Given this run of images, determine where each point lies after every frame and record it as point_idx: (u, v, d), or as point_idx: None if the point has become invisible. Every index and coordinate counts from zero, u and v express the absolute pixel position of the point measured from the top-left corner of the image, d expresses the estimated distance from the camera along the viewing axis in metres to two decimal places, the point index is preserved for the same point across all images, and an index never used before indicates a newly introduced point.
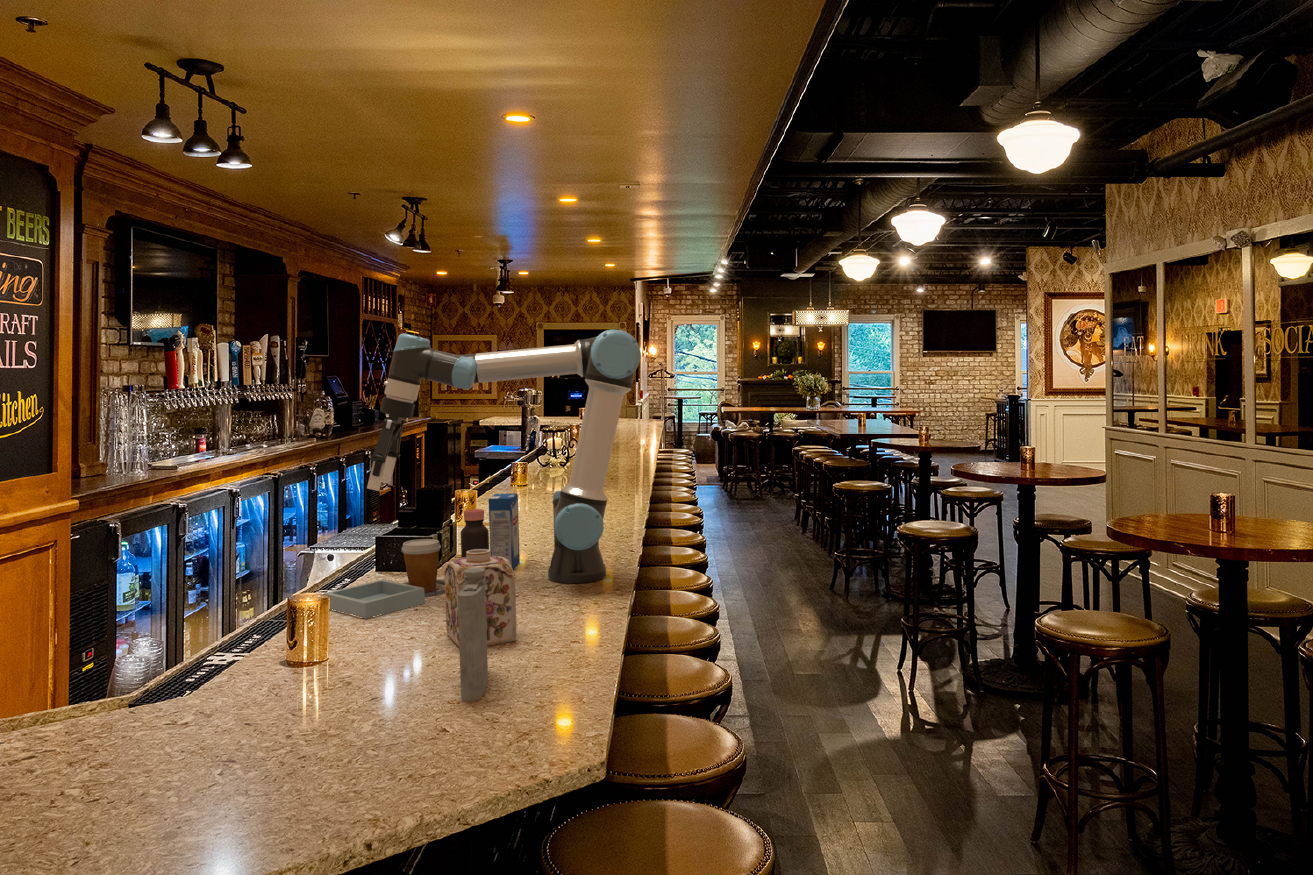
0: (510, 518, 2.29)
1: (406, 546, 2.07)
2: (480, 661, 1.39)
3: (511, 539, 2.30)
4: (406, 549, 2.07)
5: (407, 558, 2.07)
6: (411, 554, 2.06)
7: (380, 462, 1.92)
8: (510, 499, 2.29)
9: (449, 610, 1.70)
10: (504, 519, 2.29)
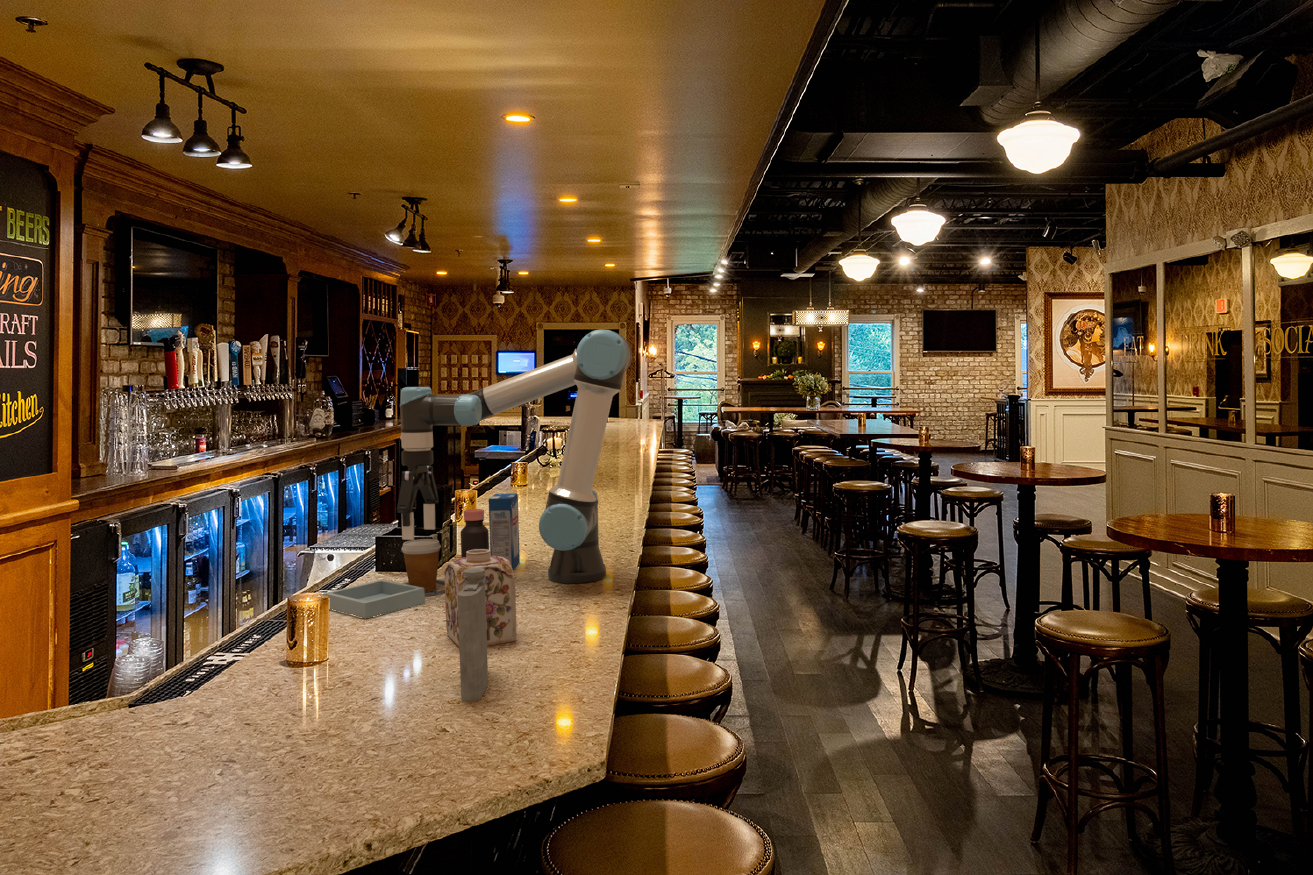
0: (510, 518, 2.29)
1: (406, 546, 2.07)
2: (480, 661, 1.39)
3: (511, 539, 2.30)
4: (406, 549, 2.07)
5: (407, 558, 2.07)
6: (411, 554, 2.06)
7: (406, 513, 2.01)
8: (510, 499, 2.29)
9: (449, 610, 1.70)
10: (504, 519, 2.29)
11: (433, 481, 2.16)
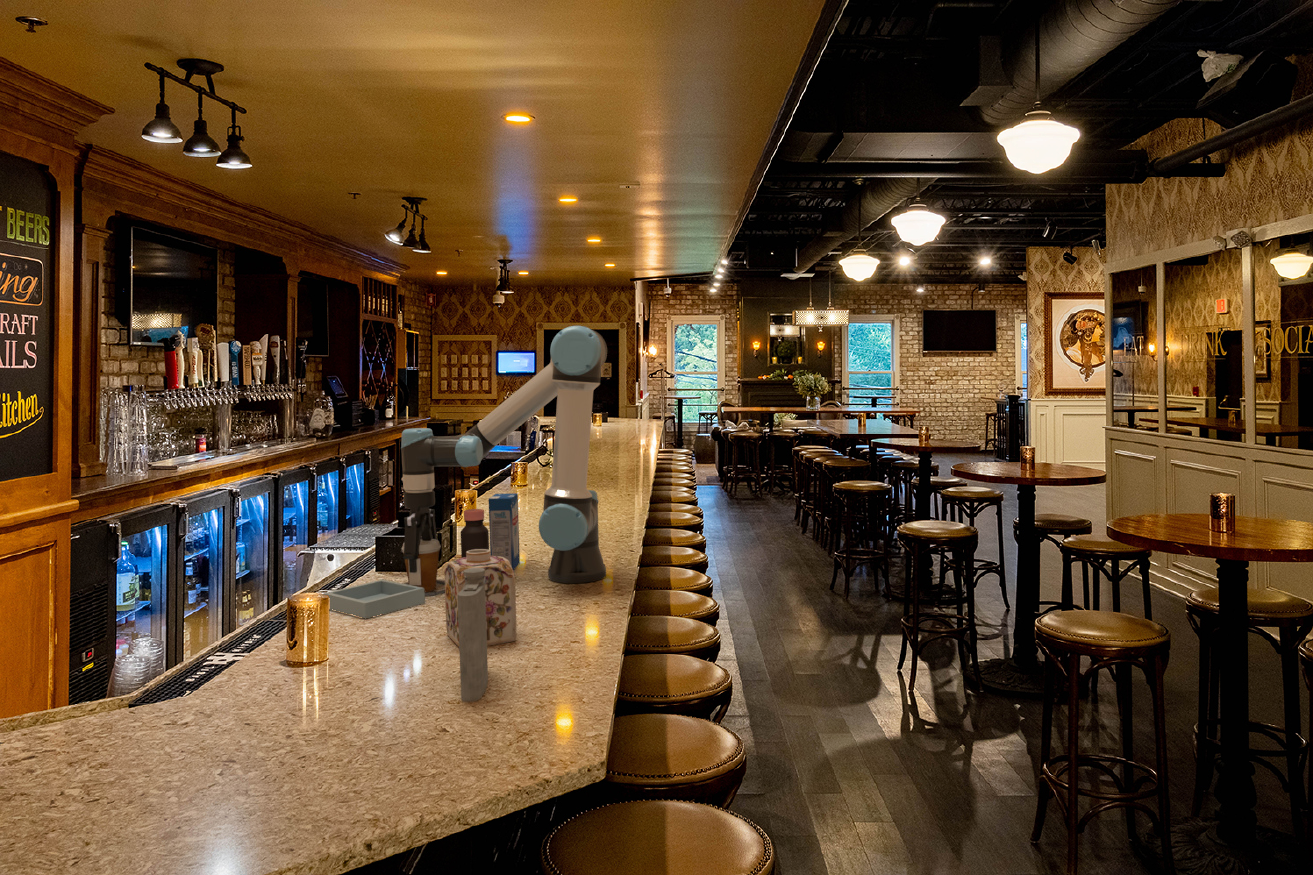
0: (510, 518, 2.29)
1: None
2: (480, 661, 1.39)
3: (511, 539, 2.30)
4: None
5: None
6: None
7: (413, 559, 2.04)
8: (510, 499, 2.29)
9: (449, 610, 1.70)
10: (504, 519, 2.29)
11: (434, 525, 2.16)
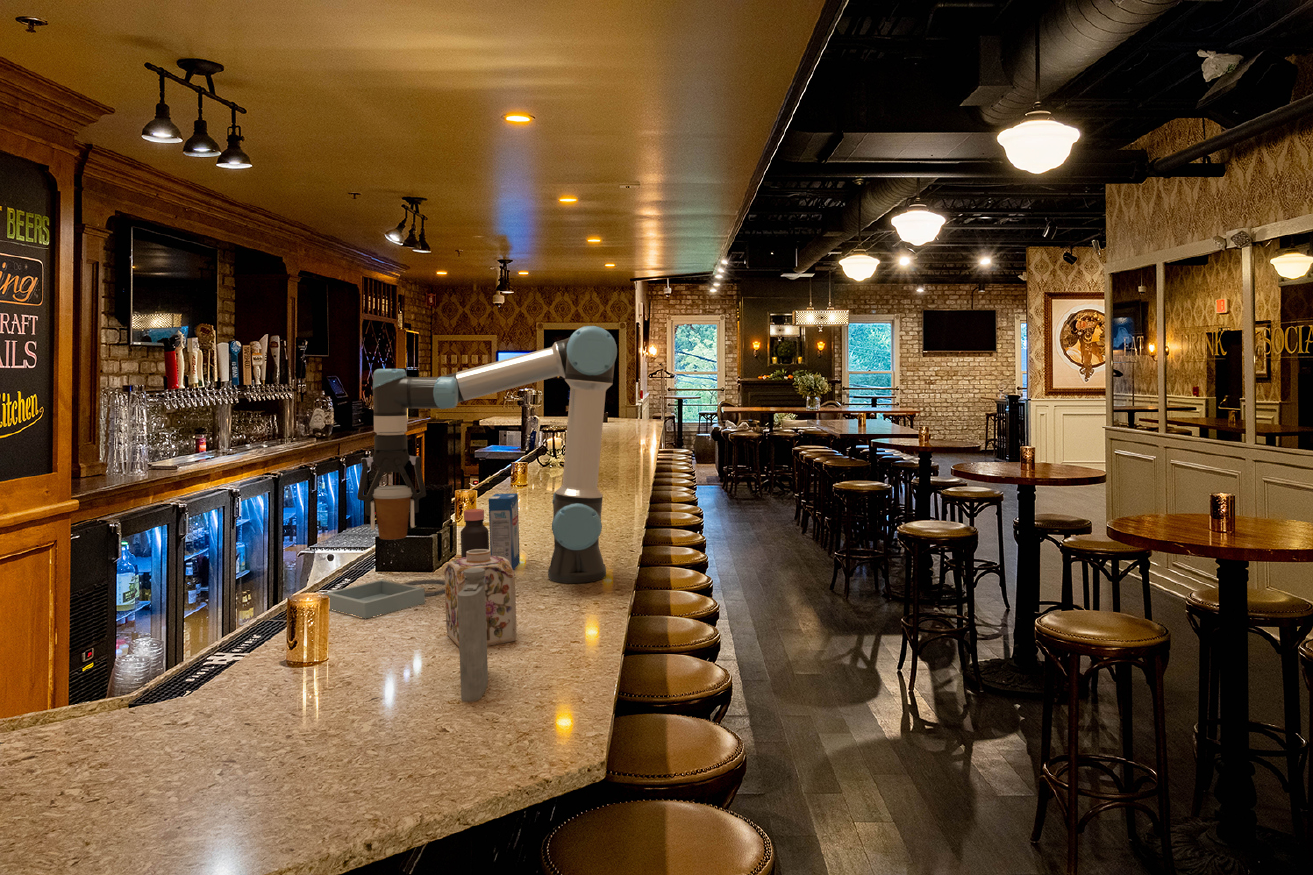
0: (510, 518, 2.29)
1: None
2: (480, 661, 1.39)
3: (511, 539, 2.30)
4: None
5: None
6: None
7: (364, 501, 1.99)
8: (510, 499, 2.29)
9: (449, 610, 1.70)
10: (504, 519, 2.29)
11: (418, 474, 2.03)
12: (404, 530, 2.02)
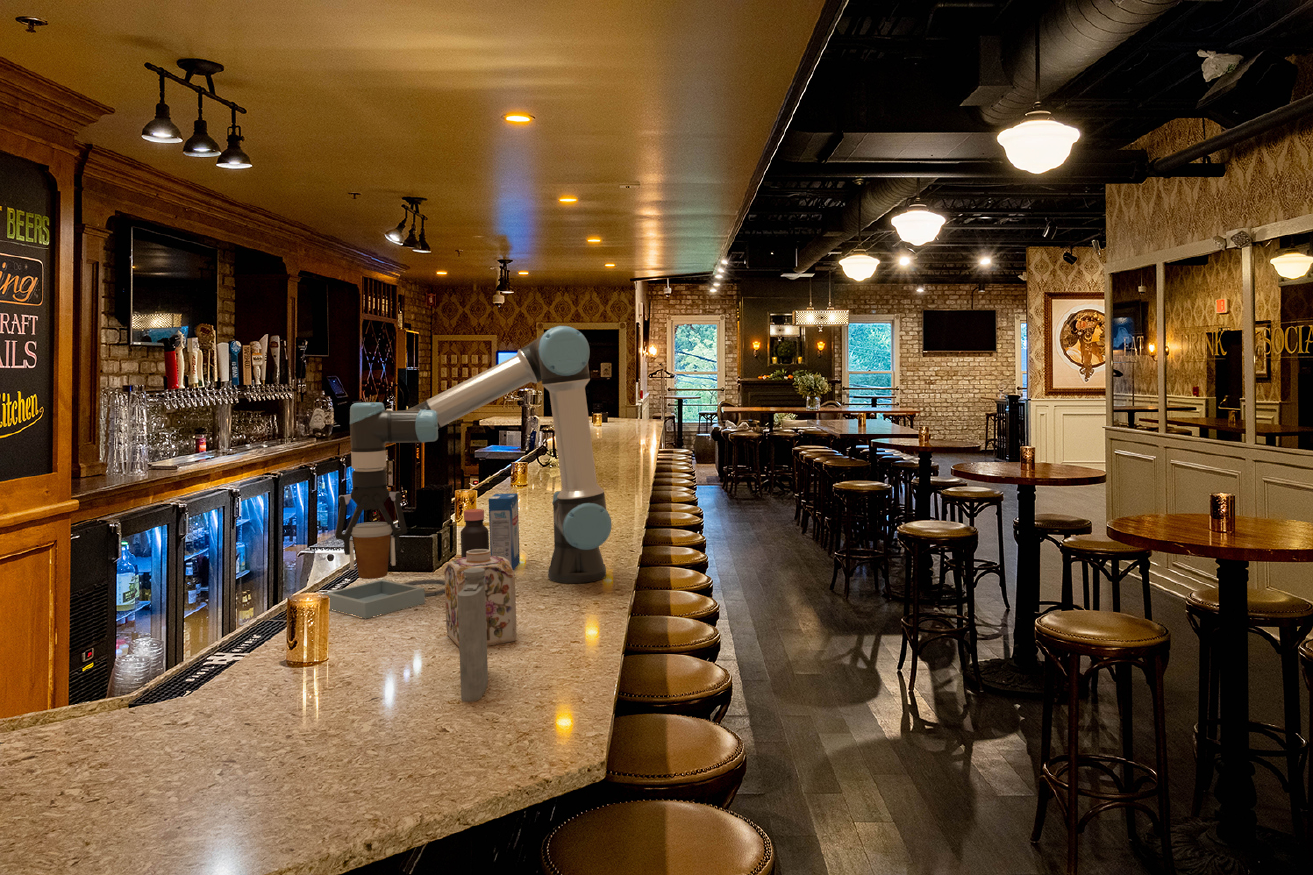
0: (510, 518, 2.29)
1: None
2: (480, 661, 1.39)
3: (511, 539, 2.30)
4: None
5: None
6: None
7: None
8: (510, 499, 2.29)
9: (449, 610, 1.70)
10: (504, 519, 2.29)
11: (398, 510, 1.97)
12: (384, 568, 1.95)
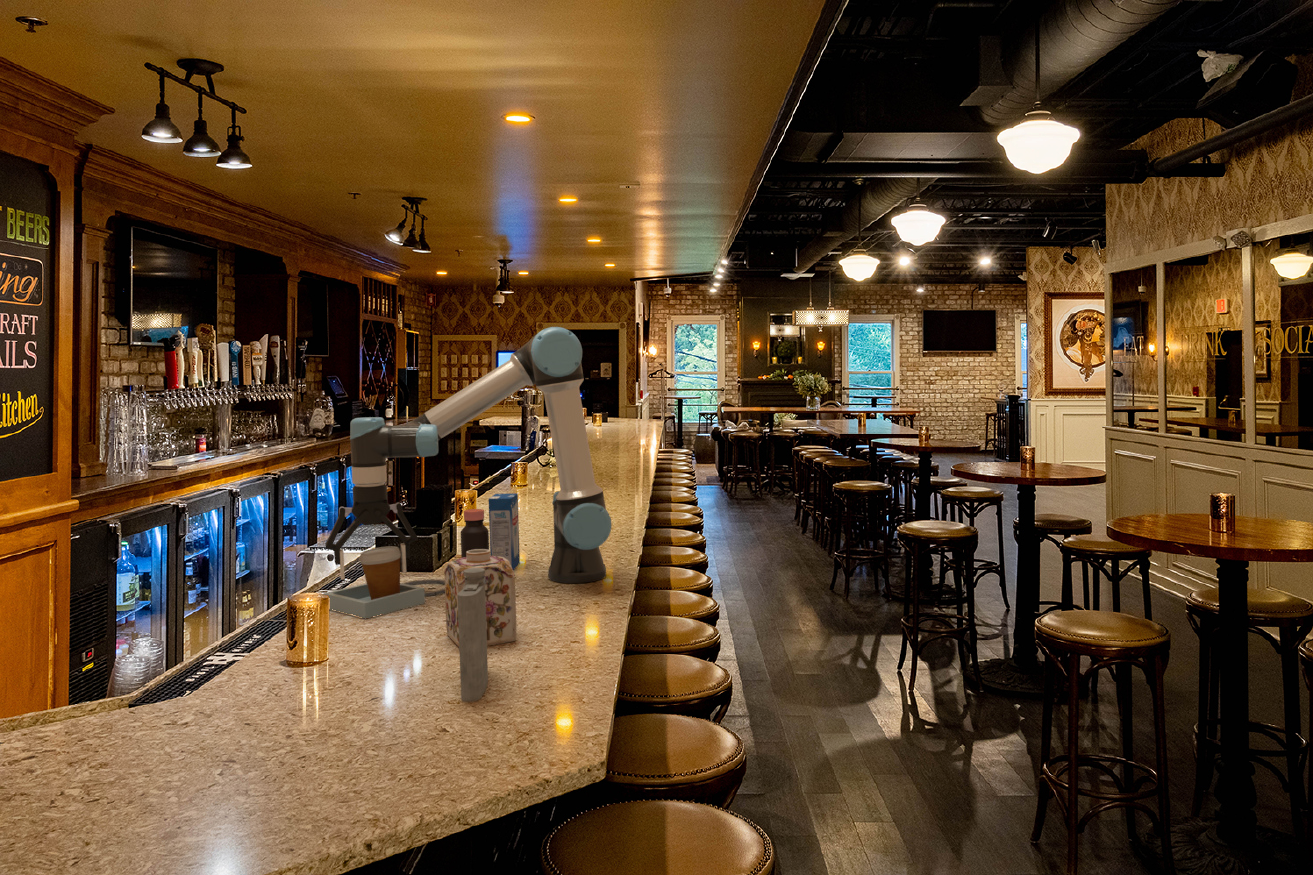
0: (510, 518, 2.29)
1: None
2: (480, 661, 1.39)
3: (511, 539, 2.30)
4: None
5: None
6: None
7: (333, 550, 1.92)
8: (510, 499, 2.29)
9: (449, 610, 1.70)
10: (504, 519, 2.29)
11: (404, 520, 1.97)
12: None
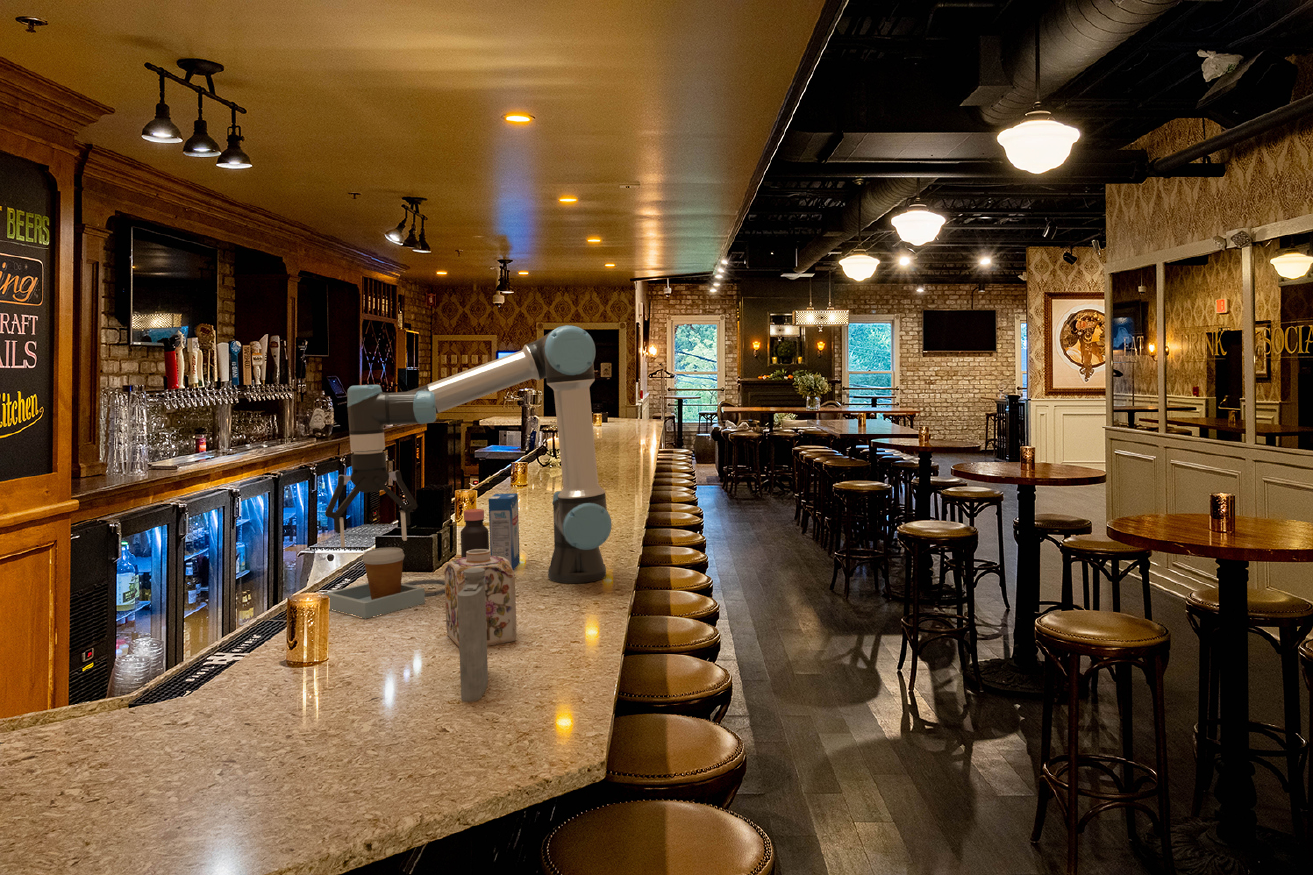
0: (510, 518, 2.29)
1: None
2: (480, 661, 1.39)
3: (511, 539, 2.30)
4: None
5: None
6: (364, 562, 1.96)
7: None
8: (510, 499, 2.29)
9: (449, 610, 1.70)
10: (503, 519, 2.29)
11: (403, 488, 1.97)
12: None
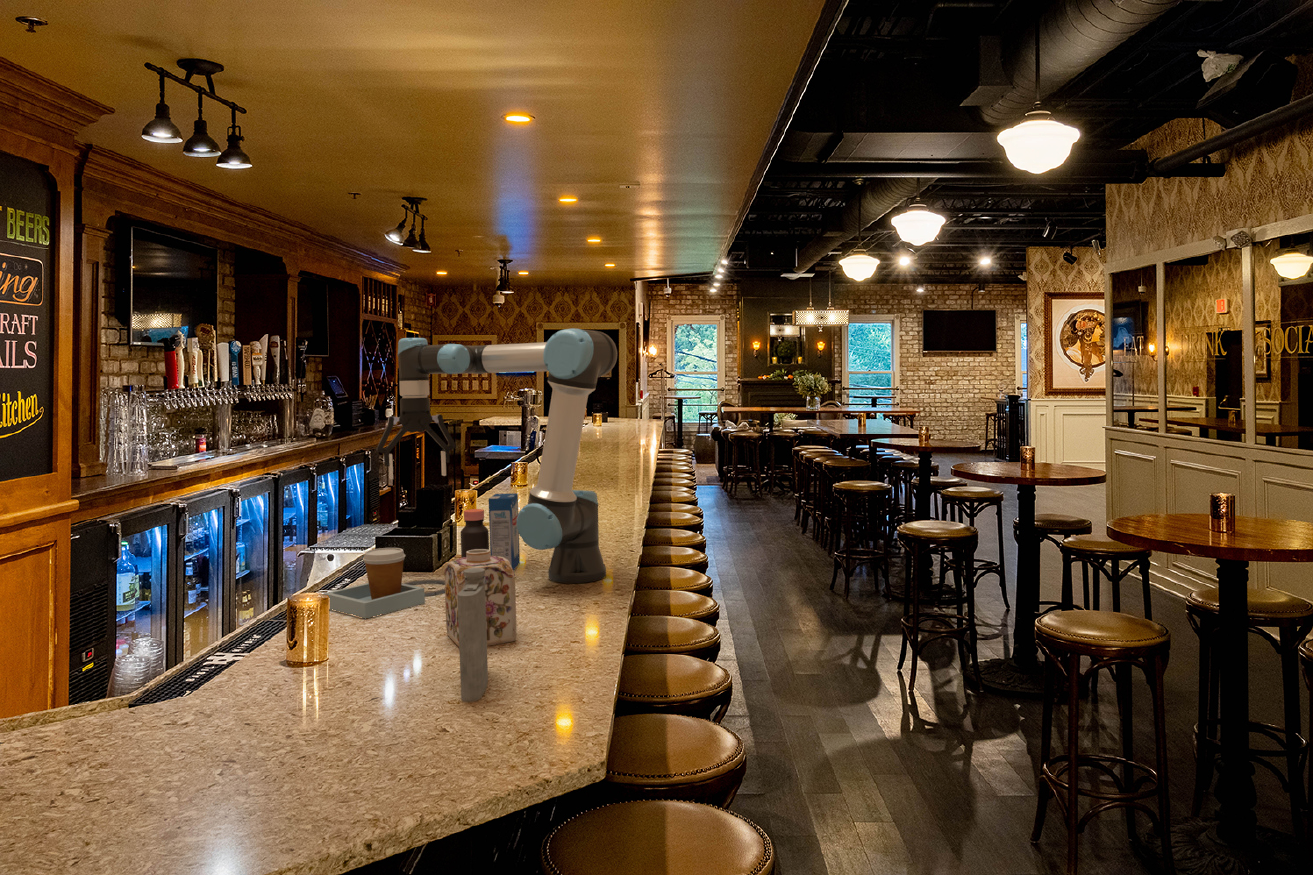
0: (510, 518, 2.29)
1: None
2: (480, 661, 1.39)
3: (511, 539, 2.30)
4: None
5: None
6: None
7: (383, 453, 2.19)
8: (510, 499, 2.29)
9: (449, 610, 1.70)
10: (504, 519, 2.29)
11: (444, 429, 2.25)
12: None
